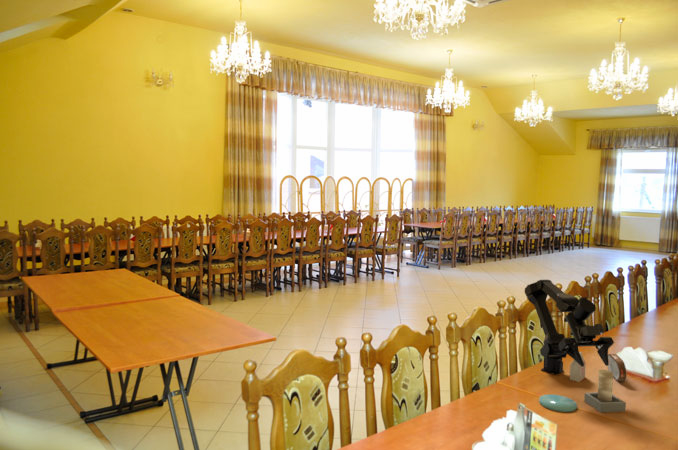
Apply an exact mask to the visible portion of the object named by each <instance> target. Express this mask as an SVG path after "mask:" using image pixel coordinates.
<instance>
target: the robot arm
mask: <svg viewBox="0 0 678 450" xmlns="http://www.w3.org/2000/svg"><path fill="white" fill-rule="evenodd" d="M524 295H525V296H526V298H527V301H529V303H531V304H532V305H533V306H534V308H535V311H536V314H537V316H538V320H539V322H540V325H541V327H542V331H543V334H544V339H543V346H541V348H540V349H539V353H540V355H541V356H542V357H543V367H542V368H541V369H540V370H541V371H543V372H546V373H549V374H551V375H554V376H555V375H558V374H561V373H564V372H565V370H564V362H563V358H564V359H566V358H567V355H568V356H569V357H570V358H571V359H573V360H575V361H576V362H577V363H578V364H580V365H581V366H582V367H583V366H584V363H583V360H582V358H581V355H580V351H579V347H595V349H596V350H597V351H596V352H597V354H598V355H599V357H600V359H601V361H602V362H603V364H604V365H605V366H606V367H608V354H609V349H610V347H612V346H613V345H614V344H615V341H614V340H613V339H614V338H612V337H611V336H600V335H602V333H604V332H605V328H604V326H603V324H602V323H595V324H594V325H589V324H587V323H586V321H587V320H588V319H589V318H590V317H591V316H592V314H593V313H595V312H596V309H597V306H596V305H595V303H593V301H592V300H589V299H587V296H584V297H583V296H581V297H579V298H578V297H577V296H574V295H571V294H570V293H569V294H567V293H565V291H563V290H561V289H560V288H559V287H558V286H557V285H555V284H554V282H552V280H550V279H539V280H536V281H535V282H532V283H530V284H527V285H526V287H524ZM547 297H550V299H552V300H553V301H554V302H555V307H556V308H557V309H558V311H559V312H561V313H567V314H565V316H564V317H563V323H567V324H568V326H569V329H570V333H569V334H570V336H573V337H566V336H565V335H564V333H559V331H557V328H556V325H555V323H554V320H553V317H552V314H551V312H550V309H549V306H548V304H547ZM598 335H599V336H600V337H599V338H598V339H597V340H595V339H596V338H597V336H598Z"/></svg>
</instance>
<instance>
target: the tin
mask: <svg viewBox="0 0 678 450" xmlns="http://www.w3.org/2000/svg"><path fill="white" fill-rule="evenodd" d="M607 370H608V371H611V372H613V379H615V380H616V381H617V382H626V380H627V367H626V364H625V362H624V360H623V359H622V358H621V357H620V356H619V355H618V354H617V353H608V366H607Z"/></svg>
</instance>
